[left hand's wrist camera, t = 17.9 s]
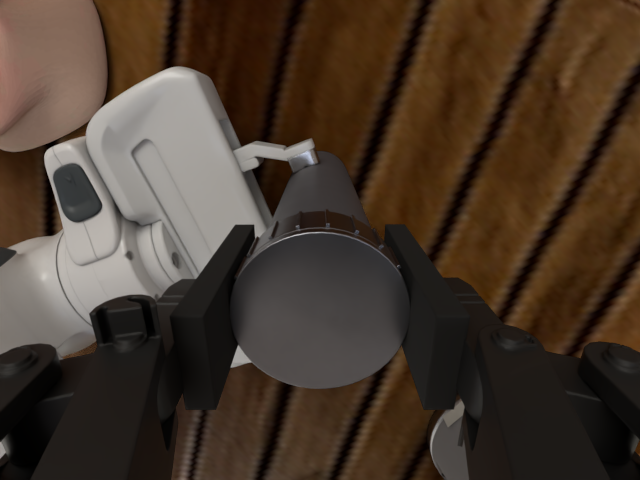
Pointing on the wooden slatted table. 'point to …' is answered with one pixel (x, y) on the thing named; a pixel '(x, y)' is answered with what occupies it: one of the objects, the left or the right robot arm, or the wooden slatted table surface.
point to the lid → (319, 301)
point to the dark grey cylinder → (320, 191)
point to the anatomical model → (49, 70)
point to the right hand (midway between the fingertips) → (332, 193)
